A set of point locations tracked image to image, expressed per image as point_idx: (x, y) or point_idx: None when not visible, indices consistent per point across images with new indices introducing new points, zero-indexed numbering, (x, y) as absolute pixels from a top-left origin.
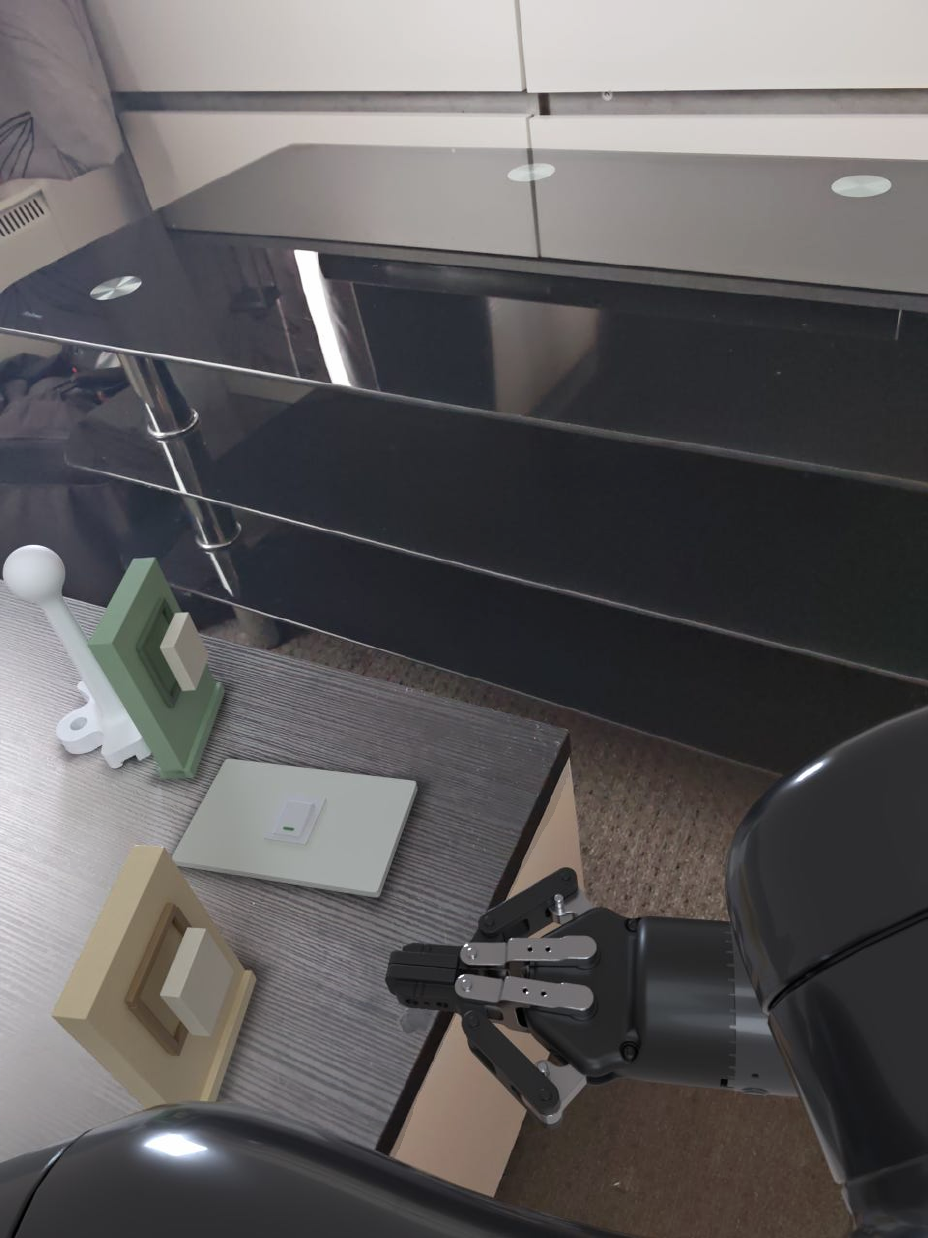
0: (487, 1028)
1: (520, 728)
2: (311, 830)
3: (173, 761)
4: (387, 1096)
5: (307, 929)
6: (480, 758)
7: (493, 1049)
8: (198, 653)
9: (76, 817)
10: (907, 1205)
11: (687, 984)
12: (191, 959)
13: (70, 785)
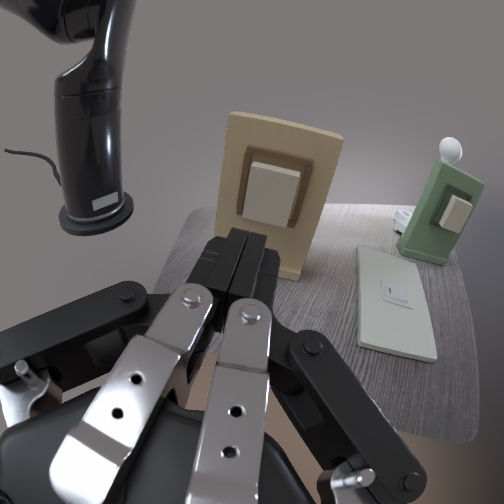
0: (108, 311)
1: (478, 419)
2: (392, 302)
3: (405, 240)
4: (212, 348)
5: (331, 306)
6: (458, 399)
7: (74, 310)
8: (458, 223)
9: (368, 219)
10: None
11: None
12: (277, 170)
13: (381, 218)
